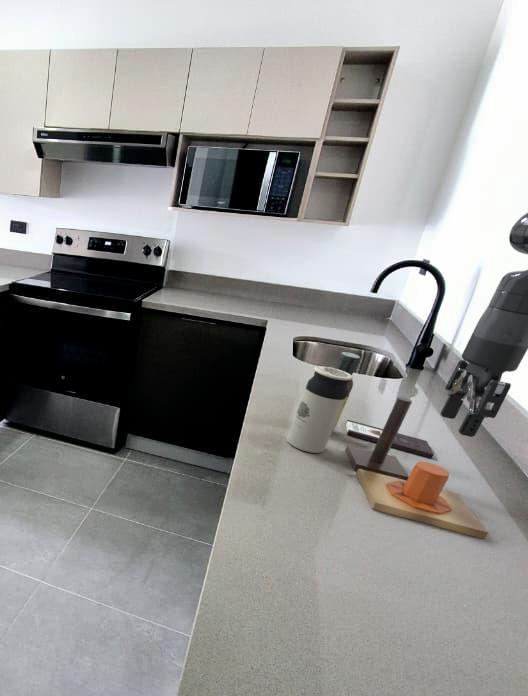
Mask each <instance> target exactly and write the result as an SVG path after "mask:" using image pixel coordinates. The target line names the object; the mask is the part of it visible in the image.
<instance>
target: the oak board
mask: <svg viewBox="0 0 528 696" xmlns="http://www.w3.org/2000/svg"><path fill="white" fill-rule="evenodd" d="M355 475H356V478H357V479H359V480H358V482H359V484H360V486H361V488H362V490H363V492H364V494H366V495H365V496H366V500H367V501H368V504H369V506H370V507H371V509H372V510H374V511H378V512H382V513H384V514H389V515H393V516H396V517H401V518H404V519H408V520H411V521H416V522H419V523H423V524H427V525H430V526H434V527H436V528H437V527H438V528H441V529H445V530H449V531H453V532H456V533H459V534H464V535H468V536H471V537H473V538H474V537H475V538H479V539H483V540H486V538H487V536H488V534H489V531H488V530H487V528H486V527H485V525H483V524H482V522H481V521H480V520H479V518H477V516H476V515H475V514H474V512H473V511H472V510H471V508H470V507H469V506H468V504H466V502H465V501H464V500H463V498H462V497H461V496H460V495H459V494H458V493H457V492H454V491H450V490H446V489H442V491H441V492H440V494H439V496H441V497H443V498H444V499H445V500H446V501H447V503H448V504H449V505H450V507H451V508H452V511H449V512H446V513H443V514H435V513H432V512H428V511H424V510H420V509H416V508H413V507H411V506H410V505H408V504H406V503H404V502H403V501H401V500H399V499H397V498H396V497H394V496H392V495H391V493H390V491H389V489H388V488H387V486H386V484H387V483H391V482H395V481H402V482H407V481H406V480H402V479H398V478H394V477H390V476H386V475H382V474H379V473H375V472H371V471H367V470H363V469H358V471H356V474H355Z"/></svg>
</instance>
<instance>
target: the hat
mask: <svg viewBox="0 0 528 696" xmlns="http://www.w3.org/2000/svg"><path fill="white" fill-rule="evenodd" d="M408 476H409V478H408V480H407V482H402V481H395V482H391V483H387V484H386V486H387V488H388V489H389V491H390V493H391V495H392V496H394V497H396V498H397V499H399V500H401V501H403V502H404V503H406V504H408V505H410V506H411V507H413V508H416V509H420V510H424V511H428V512H432V513H435V514H443V513H446V512H449V511H452V508H451V507H450V505H449V504H448V503H447V501H446V500H445V499H444V498H443V497H441V496H439V494H440V492H441V491H442V490H444V487H445V485H446V483H447V482H448V480H449V477H450V472H449V471H448V470H446V469H445V468H444V467H442V466H440V465H437V464H435V463H432V462H428V461H417V462H416V463H415V464H414V466H413V468H412V469H411V471H410V474H409V475H408Z"/></svg>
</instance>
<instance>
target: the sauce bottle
mask: <svg viewBox="0 0 528 696" xmlns="http://www.w3.org/2000/svg"><path fill="white" fill-rule="evenodd" d="M360 360H361V356H360V355H358V354H356V353H352V352H347V351H342V352H341V353H340V355H339V357H338V362H337V364H336V366H335V367H334V368H335V369H338V370H341V371H344V372H346V373H348V374H350V375H351V376H352V375H353V374H354V371H355V370H356V369H355V368H356V366H357V364H358V363H359V361H360ZM352 377H353V376H352ZM353 386H354V381H353V378H352V379H351V380H350V381H349V382H348V384H347V388H348V393H347V396H346V398H345V401H344V403H343V406H342V408H341V410H340V413H339V415H338V418H337V420H336V423H335V425H334V427H333V430H332V432H331V434H332V433H334V430H335V429H336V427H337V425H338V422H339V420H340V418H341V416H342V414H343V411H344V409H345V407H346V405H347V402H348V400H349V398H350V395H351V392H352V389H353V388H354V387H353Z"/></svg>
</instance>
